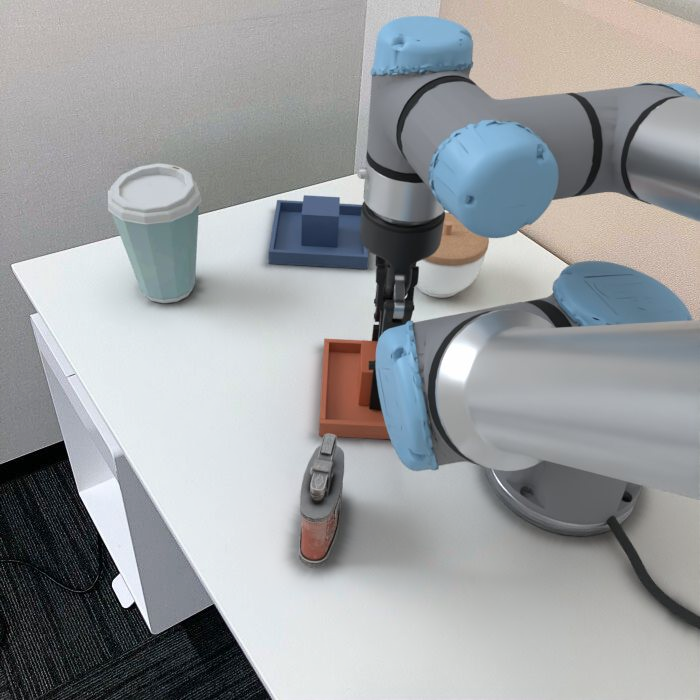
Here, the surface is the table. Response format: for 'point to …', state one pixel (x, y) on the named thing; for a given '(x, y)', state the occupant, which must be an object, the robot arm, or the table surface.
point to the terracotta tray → (346, 395)
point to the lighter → (321, 502)
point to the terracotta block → (365, 371)
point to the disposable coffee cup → (158, 228)
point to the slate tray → (291, 252)
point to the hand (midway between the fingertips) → (381, 388)
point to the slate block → (320, 221)
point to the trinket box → (452, 261)
